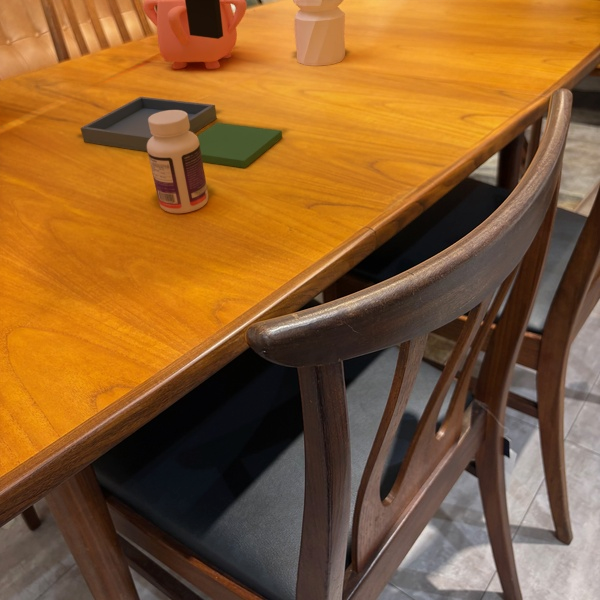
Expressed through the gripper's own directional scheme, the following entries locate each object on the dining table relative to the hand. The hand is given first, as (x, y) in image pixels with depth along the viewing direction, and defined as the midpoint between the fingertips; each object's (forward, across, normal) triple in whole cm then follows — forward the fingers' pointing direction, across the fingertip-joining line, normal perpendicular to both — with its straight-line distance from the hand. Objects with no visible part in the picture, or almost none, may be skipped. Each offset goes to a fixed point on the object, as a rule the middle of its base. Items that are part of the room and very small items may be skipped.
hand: (249, 14), depth 54 cm
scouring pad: (+20, +12, +12) cm, 26 cm away
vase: (+22, +52, +18) cm, 59 cm away
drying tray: (+21, +14, +26) cm, 36 cm away
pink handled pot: (+23, +45, +38) cm, 64 cm away
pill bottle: (+20, -3, +8) cm, 22 cm away
